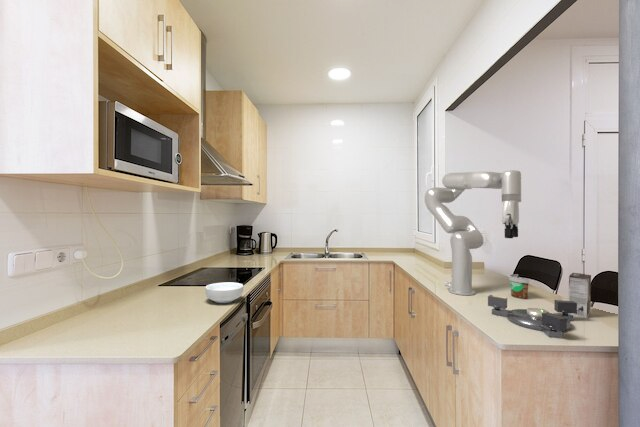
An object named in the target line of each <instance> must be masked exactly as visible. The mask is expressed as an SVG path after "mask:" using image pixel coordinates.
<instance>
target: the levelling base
mask: <svg viewBox="0 0 640 427" xmlns="http://www.w3.org/2000/svg"><path fill="white" fill-rule="evenodd" d="M553 308H554V311H555V312H556V313H555V312H554V313H552V312H549V311H548V310H547V309H544V308H538V307H528V308H526V309H524V308H523V309H522V308H516V309H510V310H509V309H507V308H506V309H501V308H494V307H492V309H491V315H494V316H498V317H503V318H506V319H507V320H508V322H510V323H512V324H513V325H517V326H519V327H522V328H526V329H530V330H533V331H539V332H542V333H543V334H545V335H546V336H547V337H548V338H555V339H563V333H565V332H568V331H570V330H571V322H573V321H574V315H570V314H571V313H575V314H577V303H576V302H574V301H569V300H561V299H559V300H558V299H554V307H553ZM568 313H569V314H568Z"/></svg>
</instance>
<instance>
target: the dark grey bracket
mask: <svg viewBox="0 0 640 427" xmlns="http://www.w3.org/2000/svg"><path fill="white" fill-rule="evenodd" d="M487 306H488V307H491V308H501V309H506V310H507V308H508V297H504V296H499V295H493V294H490V295H488V296H487Z"/></svg>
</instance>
